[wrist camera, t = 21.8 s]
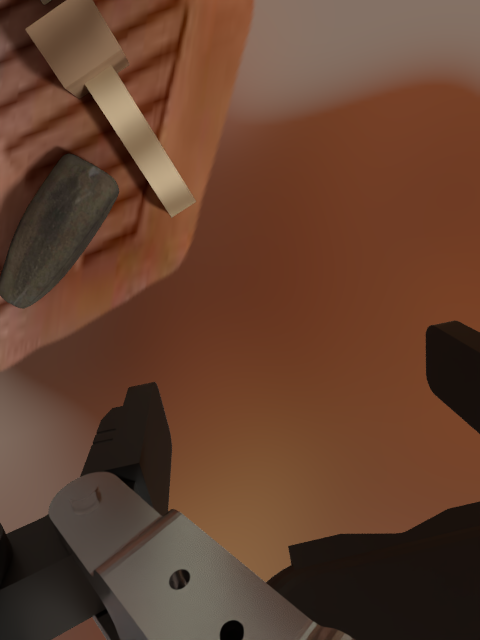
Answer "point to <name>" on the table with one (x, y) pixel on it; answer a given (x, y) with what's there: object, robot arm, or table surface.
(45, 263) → the decorative stone
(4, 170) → the table surface
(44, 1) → the stand
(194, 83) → the table surface
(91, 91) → the mallet
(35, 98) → the table surface
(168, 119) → the table surface
